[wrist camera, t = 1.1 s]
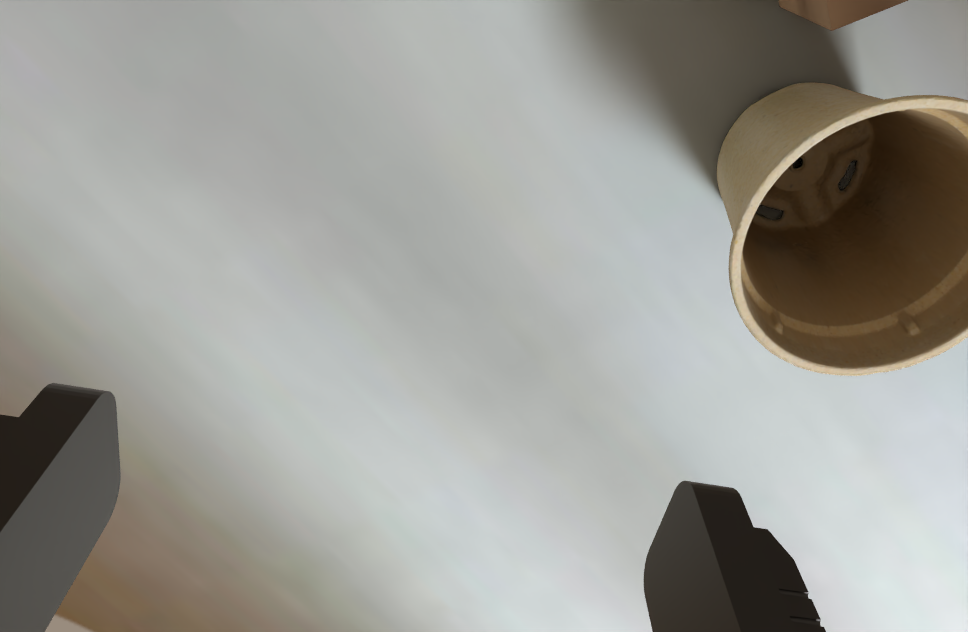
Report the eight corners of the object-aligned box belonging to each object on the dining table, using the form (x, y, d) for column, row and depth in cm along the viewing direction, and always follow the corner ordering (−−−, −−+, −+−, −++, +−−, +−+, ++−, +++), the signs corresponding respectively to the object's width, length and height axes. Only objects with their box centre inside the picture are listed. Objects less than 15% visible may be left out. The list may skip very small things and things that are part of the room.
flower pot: (677, 277, 34) (730, 393, 26) (669, 59, 29) (731, 125, 21) (897, 247, 33) (1017, 358, 25) (926, 18, 28) (1084, 71, 21)
